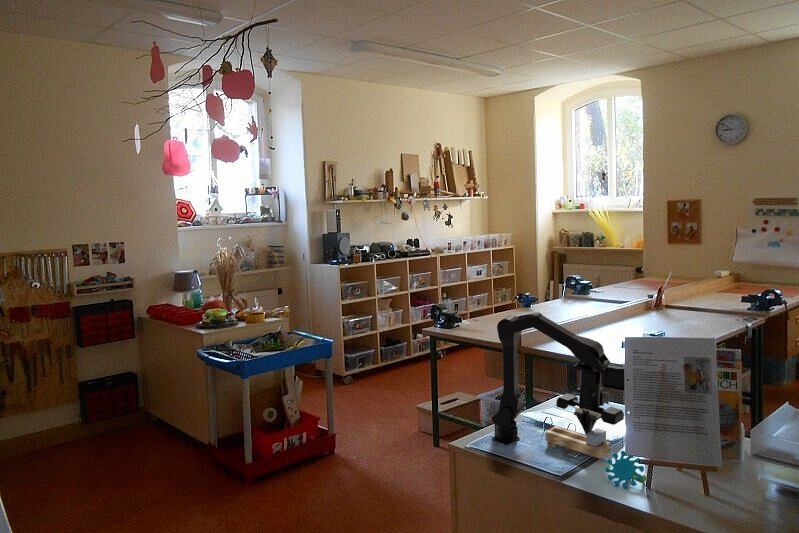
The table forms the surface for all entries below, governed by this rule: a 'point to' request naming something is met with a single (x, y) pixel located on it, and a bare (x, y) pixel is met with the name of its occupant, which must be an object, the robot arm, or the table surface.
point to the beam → (574, 442)
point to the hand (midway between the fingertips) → (588, 435)
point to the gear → (625, 470)
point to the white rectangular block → (596, 437)
